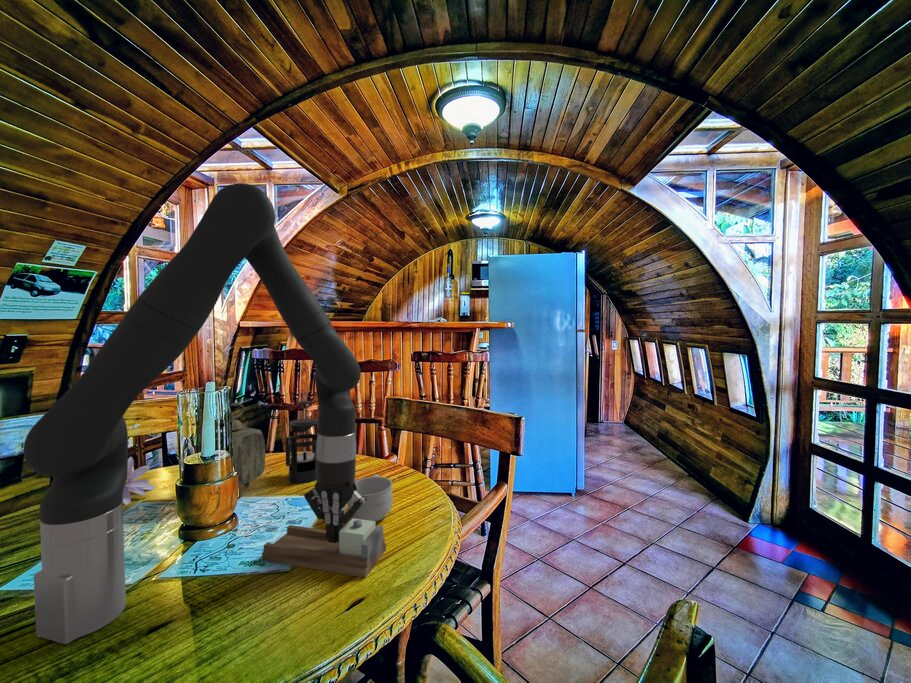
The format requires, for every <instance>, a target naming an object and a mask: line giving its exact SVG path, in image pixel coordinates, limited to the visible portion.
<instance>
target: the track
mask: <svg viewBox="0 0 911 683" xmlns="http://www.w3.org/2000/svg"><path fill="white" fill-rule="evenodd" d="M386 550H387V543H386V539H385V538H384V525H377V526H375V529H374V530H373V532H372V533H371V534H370V535H369V536H368V537H367V539H366V540H365V541H364V542H363V543H362V557H356V556H350V555H343V554H339V540H338V541H337V542H336V543H331V542H328V539H327V537H326V529H322V528H321V529H320V528H314V527H306V526H301V525H300V526H299V525H293V524H290V525H288V526H287V527H286V533H285V534H283V535H282V536H281V537H280V538H279V539H277V540H276V541H274V543H273V542H266V543H264V544H263V551H262V552H261V560H262V561H264V562H270V563H271V562H272V563H275V564H277V563H278V564H283V565H289V566H293V567H294V566H295V567H299V568H306V569H311V570H317V571H323V572H329V573H335V574H341V575H347V576H352V577H358V578H367V577H368V575H369V574H370V573H371V571H372V570H373V568H375V566H376V565H377V563H378V562H379V560H380V559H381V558H382V556H383V555H384V554H385V553H386Z"/></svg>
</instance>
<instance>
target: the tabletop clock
mask: <svg viewBox="0 0 911 683" xmlns="http://www.w3.org/2000/svg"><path fill="white" fill-rule="evenodd" d="M232 406H238V407H241V408H242V410H241V412H240V413H237V415H235V414H234V413H230V414H231V422H232V448H233V467H234V471H235V472H237V475H238V486H239V487H240V486H242V485H243V486H244V487H245V488H247V487H249V486H250V482H251V481H254V480H255V479H257V478H258V479H259V477H261V476H262V475H263V474H264V472H265V471H264V470H265V467H266V444H265V441H266V440H265V438H264V435H263V432H262V430H261V429H257V428H254V427H253V428H252V427H248V426H243V425H244V424H243V423H242V421H240V420H238V419H237V418H239V417H241V416H242V415H243V414H244V413H245V407H244V405H243V404H242V403H239V402H231V406H230V407H232ZM242 496H243V492H241V491H239V498H238V499H240V498H242Z"/></svg>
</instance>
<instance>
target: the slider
mask: <svg viewBox="0 0 911 683" xmlns="http://www.w3.org/2000/svg"><path fill="white" fill-rule="evenodd" d="M375 528H376V522H375V521H369V520H362V519H354V518H351V519H349V520H348V521H347V523H345V524H344V525H343V528H342V529H341V530H340V531H339V554H343V555H350V556H356V557H362V543H363V542H364V541H365V540H366V539H367V537H368V536H369V535H370V534H371V533H372V532H373V530H374V529H375Z"/></svg>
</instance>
